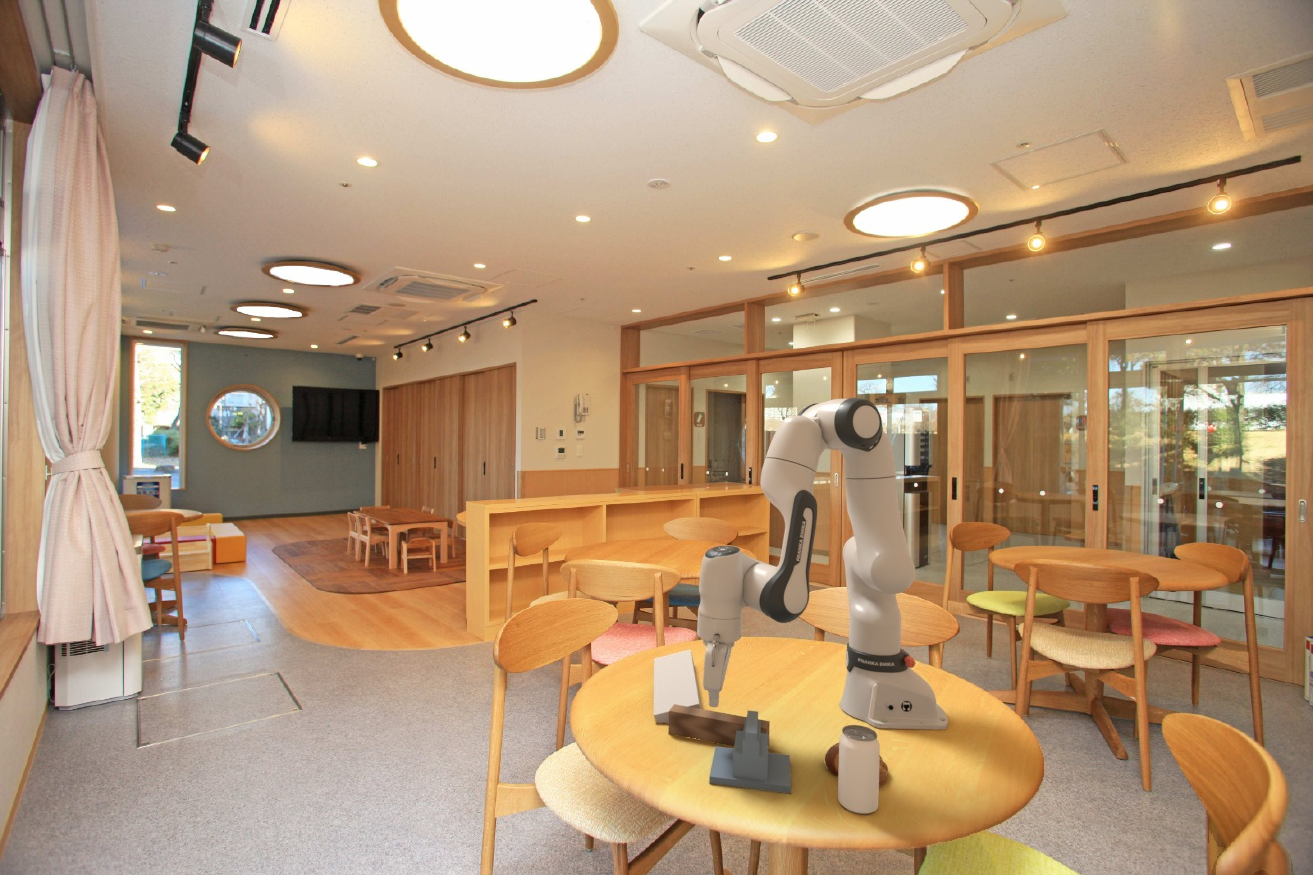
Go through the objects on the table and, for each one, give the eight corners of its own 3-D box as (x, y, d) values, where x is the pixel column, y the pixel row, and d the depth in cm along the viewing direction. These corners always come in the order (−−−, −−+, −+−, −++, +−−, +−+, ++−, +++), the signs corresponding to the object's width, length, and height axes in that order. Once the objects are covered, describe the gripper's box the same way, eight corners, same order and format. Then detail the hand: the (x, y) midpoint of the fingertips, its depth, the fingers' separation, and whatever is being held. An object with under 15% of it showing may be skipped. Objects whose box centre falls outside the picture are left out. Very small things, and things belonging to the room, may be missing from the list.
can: (873, 820, 100) (875, 745, 100) (833, 807, 104) (834, 734, 104) (882, 801, 106) (883, 730, 106) (843, 788, 109) (845, 720, 109)
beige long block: (659, 737, 133) (704, 725, 133) (653, 715, 133) (699, 703, 133) (658, 676, 167) (694, 666, 167) (654, 658, 167) (690, 649, 167)
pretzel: (904, 783, 112) (905, 763, 112) (856, 796, 108) (857, 774, 108) (857, 751, 123) (858, 732, 123) (812, 761, 119) (813, 741, 119)
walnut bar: (769, 746, 124) (769, 721, 124) (765, 754, 121) (766, 728, 121) (673, 728, 131) (674, 704, 131) (668, 735, 128) (668, 710, 128)
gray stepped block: (789, 761, 118) (790, 712, 118) (790, 793, 107) (791, 740, 107) (715, 752, 121) (716, 705, 121) (709, 783, 110) (710, 731, 110)
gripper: (730, 645, 115) (727, 720, 116) (738, 615, 136) (735, 679, 136) (697, 642, 117) (693, 716, 117) (709, 612, 137) (706, 675, 137)
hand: (716, 696), depth 126 cm, fingers open, 8 cm apart
